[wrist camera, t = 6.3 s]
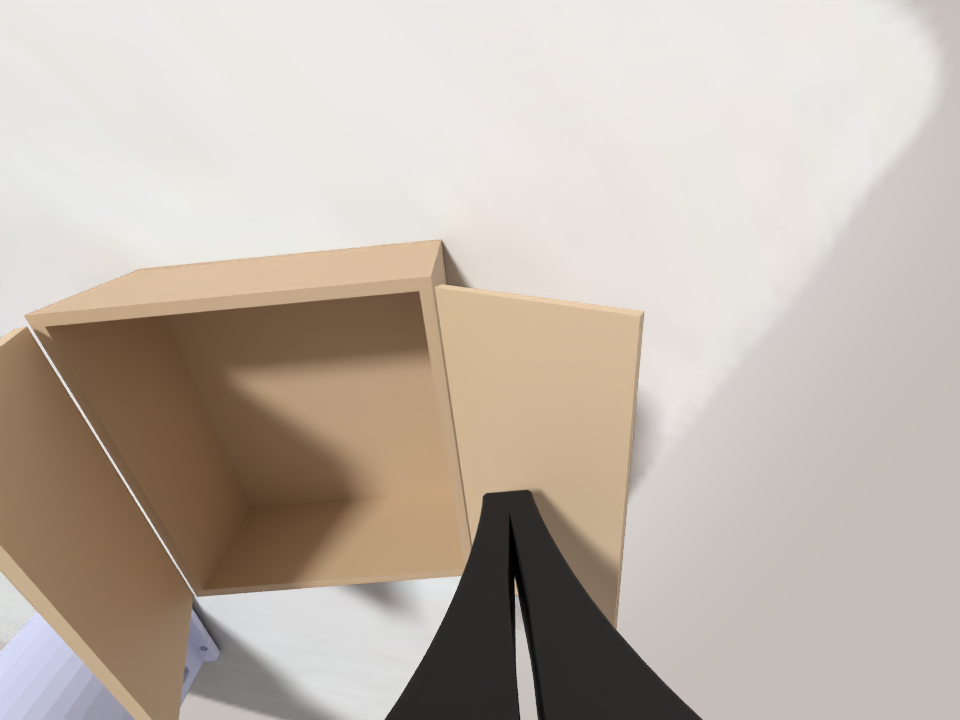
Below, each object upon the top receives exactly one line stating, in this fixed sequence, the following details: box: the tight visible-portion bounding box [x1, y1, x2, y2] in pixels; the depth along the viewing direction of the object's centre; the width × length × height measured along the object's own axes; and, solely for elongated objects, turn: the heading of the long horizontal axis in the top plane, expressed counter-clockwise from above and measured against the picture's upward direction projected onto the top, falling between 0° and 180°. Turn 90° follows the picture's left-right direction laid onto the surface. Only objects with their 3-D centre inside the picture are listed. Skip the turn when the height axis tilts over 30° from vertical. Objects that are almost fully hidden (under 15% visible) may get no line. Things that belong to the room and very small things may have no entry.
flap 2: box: [435, 284, 644, 629], centre depth 14 cm, size 12×6×1 cm
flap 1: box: [0, 327, 194, 720], centre depth 13 cm, size 12×6×1 cm
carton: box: [24, 240, 472, 597], centre depth 18 cm, size 13×12×5 cm
